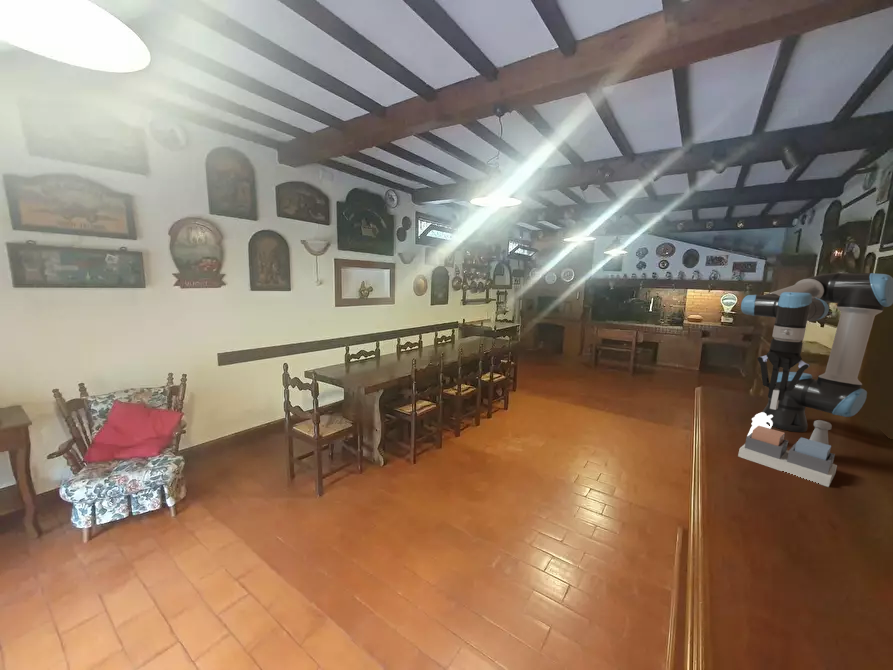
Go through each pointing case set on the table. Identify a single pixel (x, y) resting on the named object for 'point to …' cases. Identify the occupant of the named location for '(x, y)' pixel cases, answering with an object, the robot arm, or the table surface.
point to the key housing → (789, 460)
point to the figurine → (761, 421)
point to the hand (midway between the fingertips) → (773, 408)
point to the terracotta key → (768, 435)
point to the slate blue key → (813, 448)
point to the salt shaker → (821, 431)
